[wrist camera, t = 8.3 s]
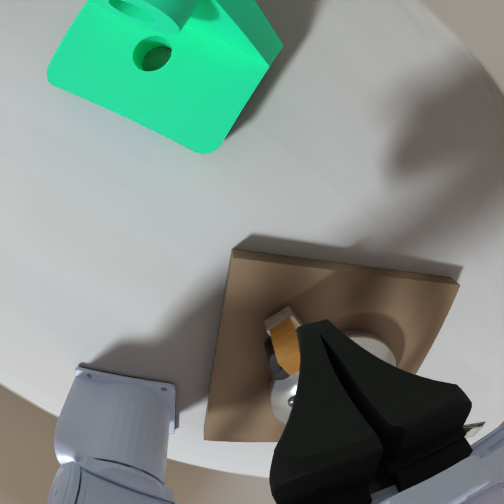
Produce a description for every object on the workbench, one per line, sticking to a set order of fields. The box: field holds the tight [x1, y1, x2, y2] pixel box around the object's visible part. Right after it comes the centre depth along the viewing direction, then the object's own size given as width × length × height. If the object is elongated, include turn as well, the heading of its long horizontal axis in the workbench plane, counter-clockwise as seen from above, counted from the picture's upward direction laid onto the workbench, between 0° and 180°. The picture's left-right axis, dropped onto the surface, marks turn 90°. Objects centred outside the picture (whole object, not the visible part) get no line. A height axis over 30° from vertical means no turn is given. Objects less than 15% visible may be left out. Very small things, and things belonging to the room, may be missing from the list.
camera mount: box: [47, 0, 284, 154], centre depth 11 cm, size 12×8×10 cm, turn 59°
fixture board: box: [204, 249, 460, 442], centre depth 25 cm, size 20×20×2 cm
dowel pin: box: [264, 337, 290, 380], centre depth 21 cm, size 1×1×3 cm
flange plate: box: [264, 306, 396, 424], centre depth 21 cm, size 15×11×5 cm
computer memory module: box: [463, 422, 485, 438], centre depth 39 cm, size 15×1×4 cm
